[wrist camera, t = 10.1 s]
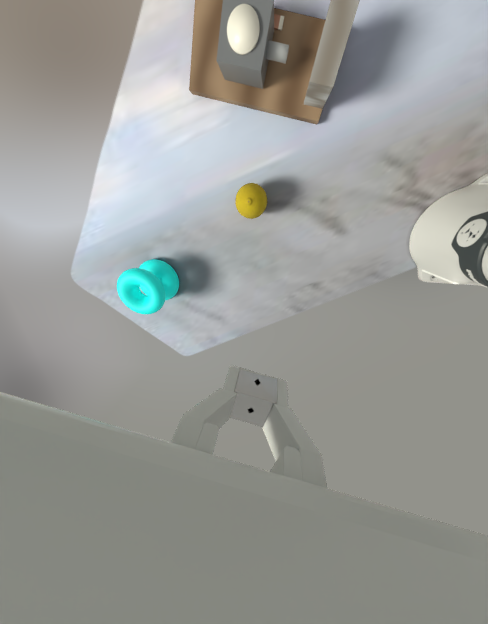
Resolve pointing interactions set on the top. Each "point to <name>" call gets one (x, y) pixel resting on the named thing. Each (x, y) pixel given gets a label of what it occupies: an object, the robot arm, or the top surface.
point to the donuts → (148, 286)
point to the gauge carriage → (248, 41)
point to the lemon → (251, 200)
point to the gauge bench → (279, 76)
